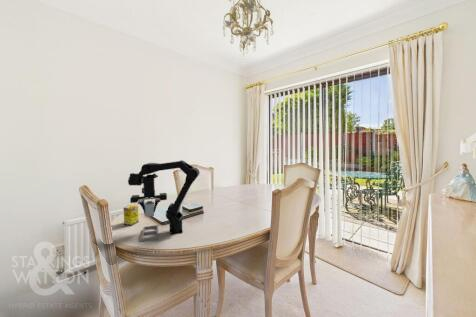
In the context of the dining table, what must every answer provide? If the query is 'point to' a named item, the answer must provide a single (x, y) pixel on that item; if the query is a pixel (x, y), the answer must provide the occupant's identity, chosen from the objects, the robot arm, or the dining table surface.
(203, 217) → the dining table surface
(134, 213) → the supplement box
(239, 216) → the dining table surface
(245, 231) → the dining table surface
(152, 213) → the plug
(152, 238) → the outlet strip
